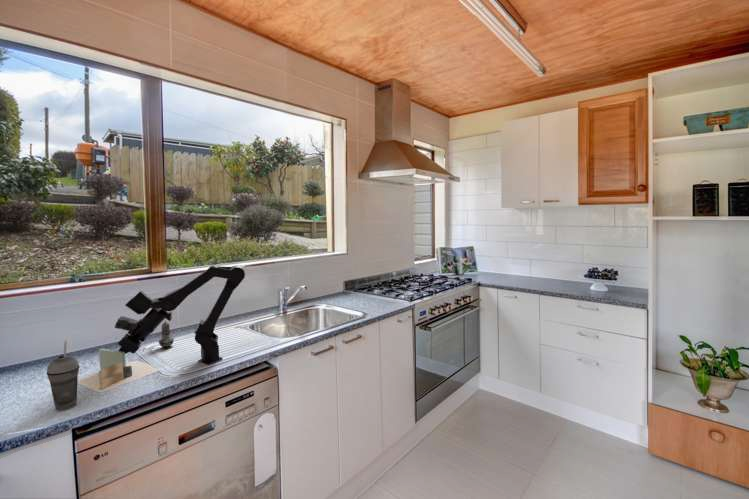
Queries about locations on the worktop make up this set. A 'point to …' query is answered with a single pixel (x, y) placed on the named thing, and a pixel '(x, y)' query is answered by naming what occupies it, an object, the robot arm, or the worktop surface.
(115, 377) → the tan dark-tipped bar
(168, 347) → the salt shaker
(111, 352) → the fence panel
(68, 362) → the beverage cup
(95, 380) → the card
